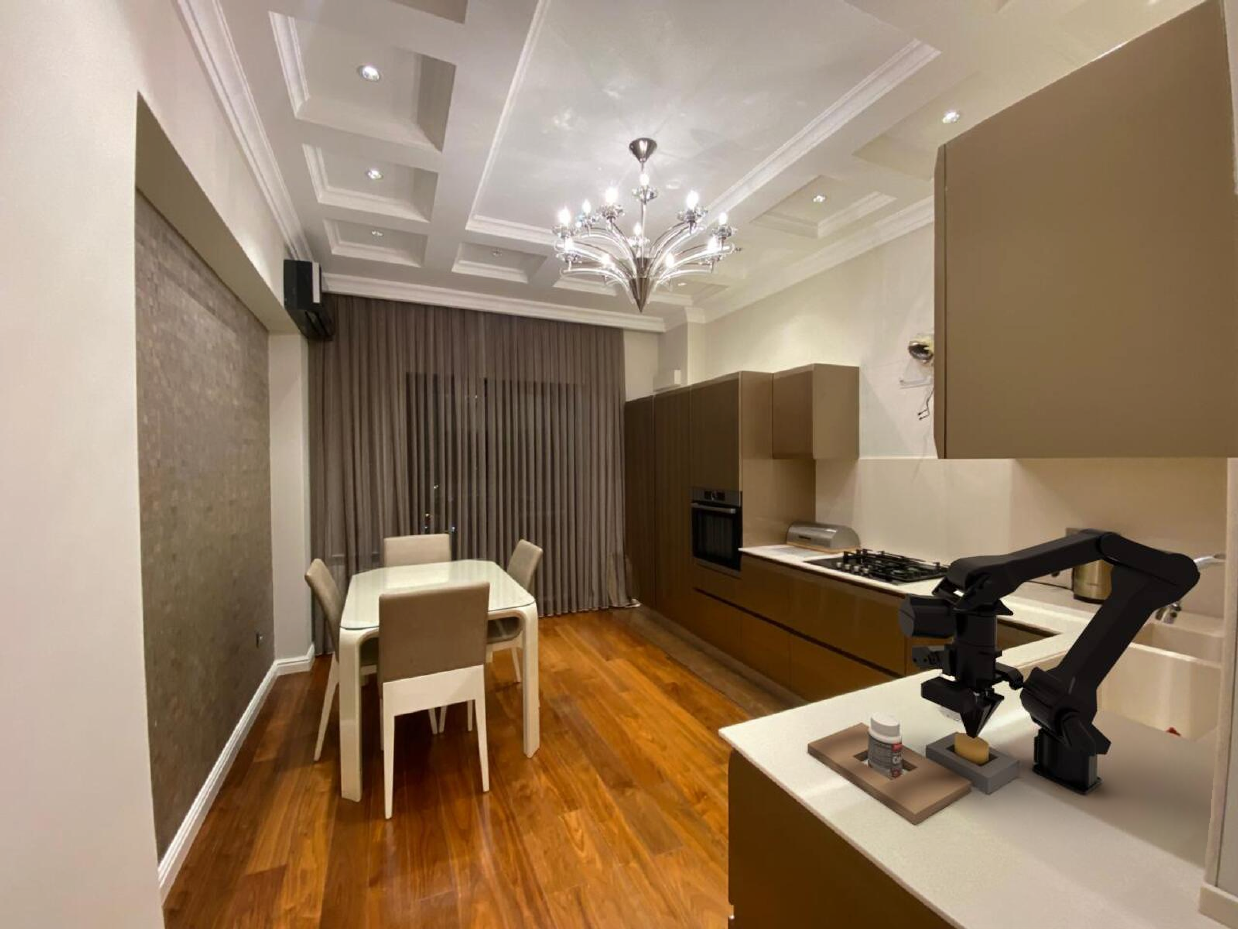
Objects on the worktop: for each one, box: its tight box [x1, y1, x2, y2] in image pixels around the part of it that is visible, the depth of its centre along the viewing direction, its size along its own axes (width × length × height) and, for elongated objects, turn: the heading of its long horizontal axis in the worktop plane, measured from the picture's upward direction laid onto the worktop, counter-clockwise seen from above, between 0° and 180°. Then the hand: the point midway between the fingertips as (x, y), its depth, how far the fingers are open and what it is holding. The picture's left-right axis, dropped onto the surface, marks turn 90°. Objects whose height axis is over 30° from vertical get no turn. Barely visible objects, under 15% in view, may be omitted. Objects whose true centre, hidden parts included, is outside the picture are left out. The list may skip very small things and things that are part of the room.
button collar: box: [925, 731, 1020, 796], centre depth 78 cm, size 9×9×2 cm
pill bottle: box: [867, 711, 903, 780], centre depth 77 cm, size 5×5×8 cm
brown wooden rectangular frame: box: [806, 722, 972, 826], centre depth 77 cm, size 18×14×2 cm
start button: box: [955, 732, 990, 766], centre depth 78 cm, size 4×4×2 cm
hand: (971, 736), depth 78 cm, fingers closed
